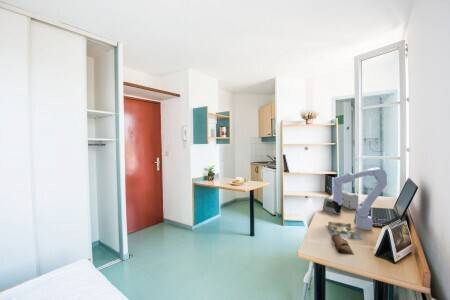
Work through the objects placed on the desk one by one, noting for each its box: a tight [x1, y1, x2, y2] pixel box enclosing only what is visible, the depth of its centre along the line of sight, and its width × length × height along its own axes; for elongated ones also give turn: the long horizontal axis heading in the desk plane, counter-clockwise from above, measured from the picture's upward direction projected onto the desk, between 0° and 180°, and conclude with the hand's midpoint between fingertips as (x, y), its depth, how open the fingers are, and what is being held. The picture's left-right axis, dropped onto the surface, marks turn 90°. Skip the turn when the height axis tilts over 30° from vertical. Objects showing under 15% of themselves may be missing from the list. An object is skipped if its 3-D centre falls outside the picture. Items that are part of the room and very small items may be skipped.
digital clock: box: [322, 197, 343, 216], centre depth 187 cm, size 16×9×11 cm, turn 23°
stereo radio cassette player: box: [342, 187, 359, 210], centre depth 203 cm, size 21×8×20 cm, turn 8°
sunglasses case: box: [331, 235, 355, 256], centre depth 128 cm, size 18×7×7 cm, turn 165°
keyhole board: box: [325, 224, 364, 241], centre depth 146 cm, size 18×19×4 cm
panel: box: [327, 221, 354, 233], centre depth 149 cm, size 14×10×3 cm
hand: (337, 212), depth 159 cm, fingers open, 4 cm apart
